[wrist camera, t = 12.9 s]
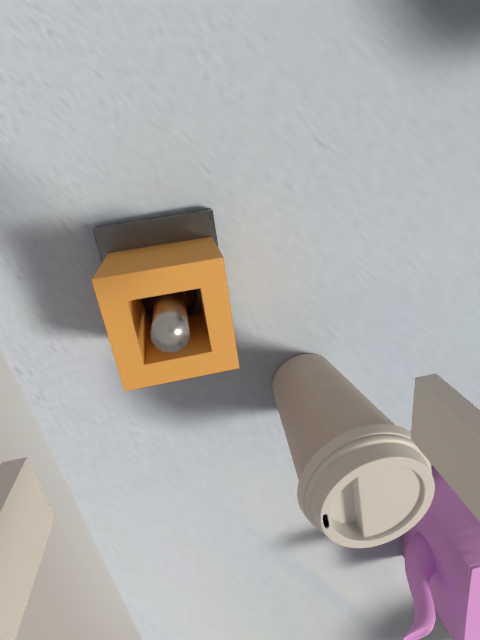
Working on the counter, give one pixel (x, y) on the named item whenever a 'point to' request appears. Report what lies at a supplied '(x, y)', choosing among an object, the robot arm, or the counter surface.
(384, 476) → the coffee cup
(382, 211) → the counter surface
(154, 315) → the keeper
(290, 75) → the counter surface
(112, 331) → the hollow block
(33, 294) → the counter surface
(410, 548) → the teapot
